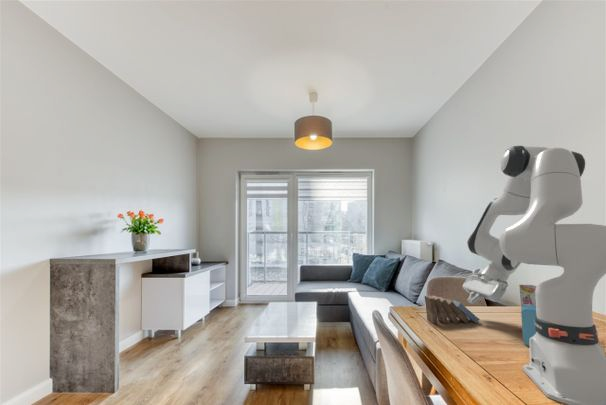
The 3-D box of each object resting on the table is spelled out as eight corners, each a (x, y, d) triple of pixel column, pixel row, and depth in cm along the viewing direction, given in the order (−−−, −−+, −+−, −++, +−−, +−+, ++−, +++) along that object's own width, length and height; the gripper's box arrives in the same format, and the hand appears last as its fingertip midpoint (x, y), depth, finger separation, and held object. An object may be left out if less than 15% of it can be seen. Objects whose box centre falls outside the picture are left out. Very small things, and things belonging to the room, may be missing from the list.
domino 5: (472, 315, 125) (453, 300, 125) (479, 319, 120) (460, 303, 120) (469, 319, 125) (450, 303, 125) (476, 323, 120) (457, 306, 120)
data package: (571, 350, 93) (568, 310, 94) (573, 355, 90) (569, 313, 91) (524, 341, 101) (521, 304, 102) (523, 345, 97) (520, 307, 98)
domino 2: (442, 318, 125) (433, 295, 125) (448, 322, 120) (439, 298, 120) (438, 320, 125) (429, 296, 125) (444, 323, 120) (435, 299, 120)
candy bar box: (521, 328, 113) (518, 284, 115) (536, 329, 112) (533, 284, 114) (538, 339, 102) (534, 290, 104) (555, 340, 101) (551, 290, 103)
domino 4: (462, 316, 125) (445, 298, 125) (469, 319, 120) (452, 301, 120) (458, 319, 125) (442, 301, 125) (465, 323, 120) (448, 304, 120)
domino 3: (452, 317, 125) (439, 296, 125) (459, 320, 120) (445, 299, 120) (448, 319, 125) (435, 299, 125) (455, 323, 120) (441, 302, 120)
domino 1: (432, 319, 124) (429, 295, 125) (437, 323, 119) (434, 298, 120) (427, 320, 124) (424, 295, 125) (433, 324, 119) (429, 298, 120)
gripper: (516, 288, 114) (492, 315, 113) (482, 279, 134) (462, 301, 133) (503, 276, 114) (480, 303, 113) (471, 269, 134) (451, 291, 133)
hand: (470, 302), depth 123 cm, fingers closed
